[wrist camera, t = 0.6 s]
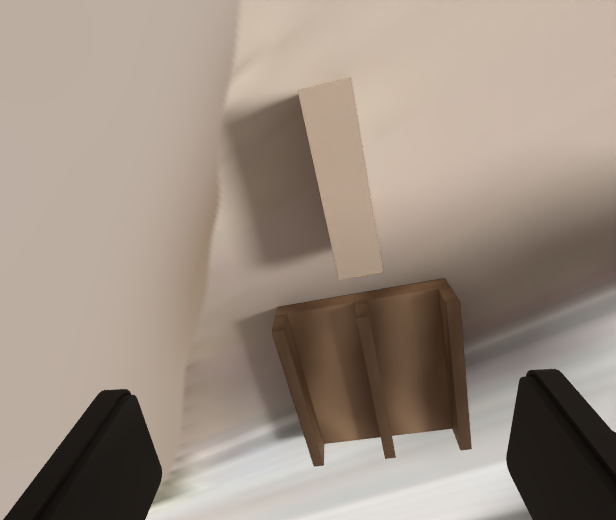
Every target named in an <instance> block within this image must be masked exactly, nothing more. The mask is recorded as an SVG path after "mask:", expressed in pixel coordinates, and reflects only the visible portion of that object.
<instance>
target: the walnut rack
mask: <svg viewBox="0 0 616 520" xmlns="http://www.w3.org/2000/svg"><path fill="white" fill-rule="evenodd" d="M272 334H273V338H274V341H275V344H276V347H277V350H278V354H279V357H280V360H281V363H282V366H283V370H284V373H285V376H286V379H287V382H288V385H289V389H290V392H291V395H292V398H293V401H294V405H295V408H296V411H297V414H298V417H299V421H300V424H301V427H302V430H303V433H304V437H305V440H306V443H307V446H308V449H309V452H310V456H311V459H312V462H313V465H314V466H323V465H324V444H326V443H335V442H343V441H352V440H360V439H369V438H377V437H381V440H382V445H383V450H384V455H385V459H387V458H396V456H395V451H394V445H393V440H392V436H394V435H402V434H411V433H419V432H427V431H436V430H444V429H453V431H454V434H455V437H456V440H457V442H458V445H459V448H460V450H468V449H472V448H471V435H470V423H469V410H468V398H467V385H466V373H465V360H464V347H463V335H462V322H461V310H460V301H459V299H458V298H457V296H456V295H455V293H454V292H453V290H452V288H451V287H450V285H449V284H448V282H447V281H446V279H445V278H444V279H438V280H432V281H426V282H421V283H415V284H409V285H403V286H397V287H392V288H386V289H380V290H374V291H368V292H363V293H357V294H351V295H345V296H340V297H334V298H328V299H322V300H316V301H311V302H305V303H299V304H293V305H287V306H282V307H278V309H277V313H276V317H275V321H274V325H273V329H272Z"/></svg>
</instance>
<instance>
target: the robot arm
mask: <svg viewBox="0 0 616 520" xmlns="http://www.w3.org/2000/svg"><path fill="white" fill-rule="evenodd" d="M506 460H507V466H508V470H509V472H510V475H511V477H512V479H513V481H514V483H515V485H516V487H517V489H518V491H519V493H520V495H521V497H522V499H523V501H524V503H525V505H526V507H527V509H528V511H529V513H530V515H531V517H532V519H533V520H616V433H615V432H614V431H612V430H611V429H610V428H609V427H608V425H607V424H606V423H605V422H604V421H603V420H602V419H601V417H600V416H599V415H598V414H597V413H596V412H595V411H594V409H593V408H592V407H591V406H590V405H589V404H588V403H587V401H586V400H585V399H584V398H583V397H582V396H581V394H580V393H579V392H578V391H577V390H576V389H575V388H574V386H573V385H572V384H571V383H570V382H569V381H568V380H567V378H566V377H565V376H564V375H563V374H562V373H561V372H560V371H559V370H557V369H544V370H529V371H528V372H527V374H526V377H521V378H520V381H519V385H518V391H517V397H516V403H515V409H514V415H513V421H512V427H511V433H510V439H509V445H508V451H507V458H506ZM161 478H162V468H161V465H160V462H159V460H158V456H157V454H156V451H155V448H154V445H153V442H152V439H151V437H150V434H149V431H148V428H147V425H146V423H145V419H144V417H143V414H142V411H141V408H140V405H139V403H138V400H137V398H136V396H135V395H131V393H130V391H128V390H127V389H120V390H104V391H101V392H100V393H99V394H98V395H97V396H96V398H95V399H94V400H93V402H92V403H91V404H90V406H89V407H88V408H87V410H86V411H85V412H84V414H83V415H82V417H81V418H80V419H79V420H78V422H77V423H76V424H75V426H74V427H73V428H72V430H71V431H70V432H69V434H68V435H67V436H66V437H65V439H64V440H63V442H62V443H61V444H60V445H59V447H58V448H57V449H56V451H55V452H54V454H53V455H52V456H51V457H50V459H49V460H48V461H47V463H46V464H45V465H44V467H43V468H42V469H41V471H40V472H39V473H38V474H37V476H36V477H35V478H34V480H33V481H32V482H31V484H30V485H29V487H28V488H27V489H26V490H25V492H24V493H23V494H22V496H21V497H20V498H19V500H18V501H17V502H16V504H15V505H14V506H13V508H12V509H11V510H10V512H9V513H8V515H7V516H6V517H5V518H4V519H3V520H145V519H146V516H147V514H148V511H149V509H150V507H151V504H152V502H153V500H154V497H155V495H156V492H157V490H158V488H159V485H160V482H161Z"/></svg>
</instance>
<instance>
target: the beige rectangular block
mask: <svg viewBox="0 0 616 520" xmlns="http://www.w3.org/2000/svg"><path fill="white" fill-rule="evenodd" d="M298 94H299V99H300V104H301V108H302V113H303V117H304V122H305V127H306V131H307V136H308V140H309V145H310V150H311V154H312V159H313V163H314V168H315V173H316V177H317V182H318V186H319V191H320V196H321V200H322V205H323V209H324V214H325V219H326V223H327V228H328V232H329V237H330V242H331V246H332V251H333V255H334V260H335V265H336V269H337V274H338V278H339V280H344V279H349V278H355V277H361V276H366V275H372V274H377V273H383V267H382V261H381V255H380V249H379V243H378V237H377V231H376V225H375V219H374V213H373V207H372V201H371V195H370V188H369V182H368V176H367V170H366V164H365V158H364V152H363V146H362V140H361V134H360V128H359V122H358V116H357V109H356V103H355V97H354V91H353V85H352V79H351V77H349V78H345V79H341V80H337V81H333V82H329V83H325V84H321V85H317V86H313V87H310V88H306V89H302V90H298Z"/></svg>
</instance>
